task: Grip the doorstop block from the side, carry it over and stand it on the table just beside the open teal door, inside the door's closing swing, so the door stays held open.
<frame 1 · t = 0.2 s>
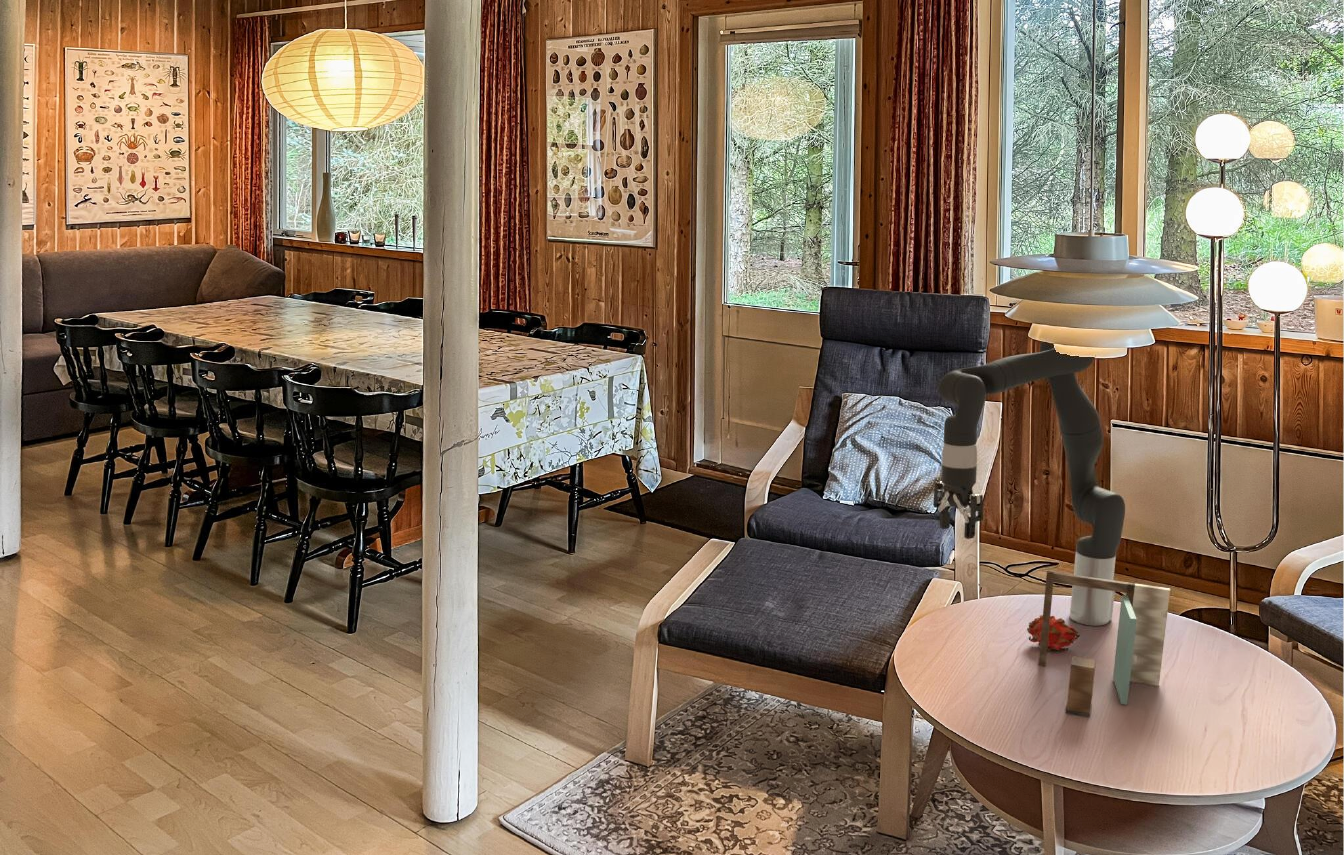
hand: (956, 533, 264), 29 cm above the table, fingers open, 8 cm apart
door: (1127, 649, 250), point 10 cm above the table, hinge at 100.0°
dragon fruit: (1051, 648, 275), on the table
doorstop: (1078, 710, 244), on the table
door frame: (1115, 677, 259), on the table
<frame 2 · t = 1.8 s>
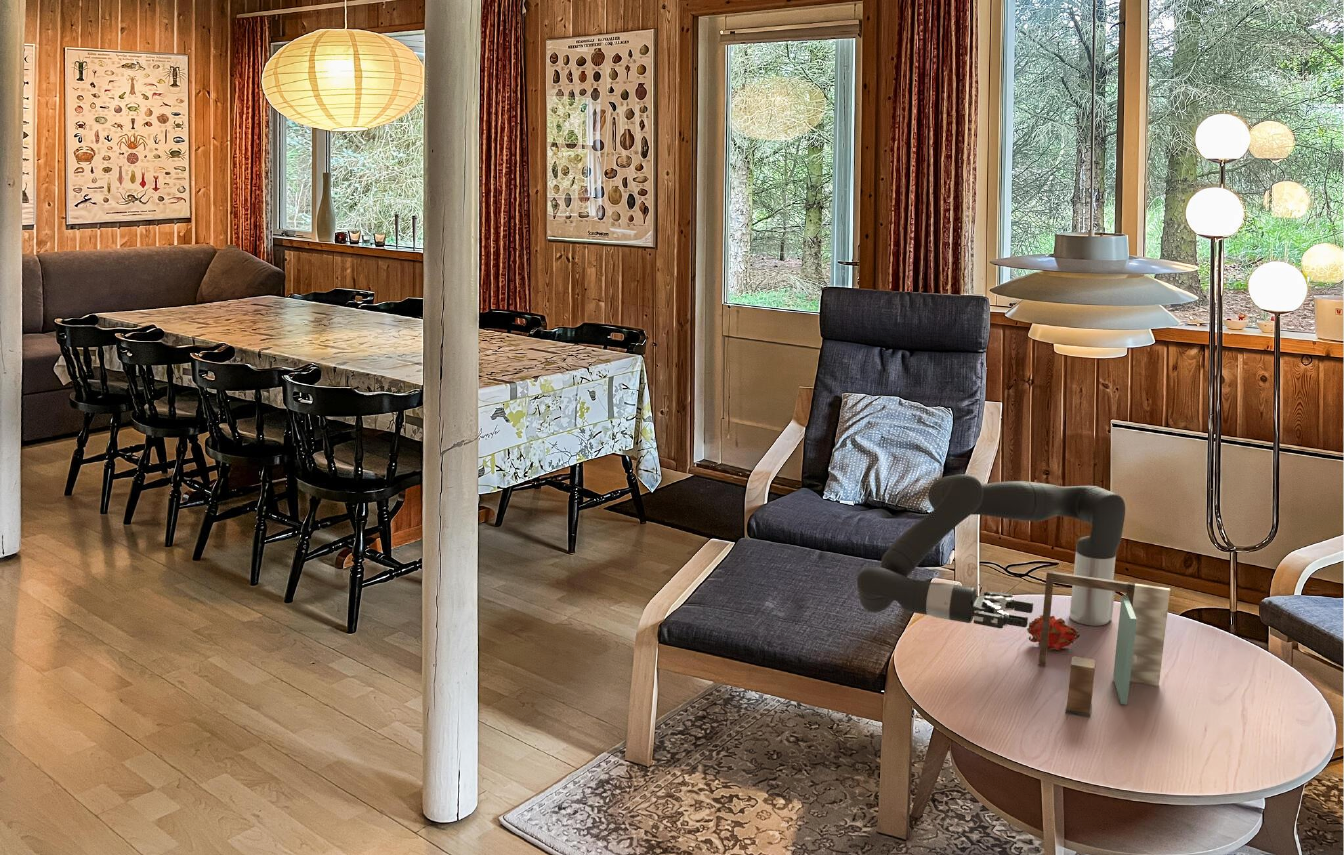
hand: (1030, 614, 244), 19 cm above the table, fingers open, 8 cm apart
nothing on the table moved.
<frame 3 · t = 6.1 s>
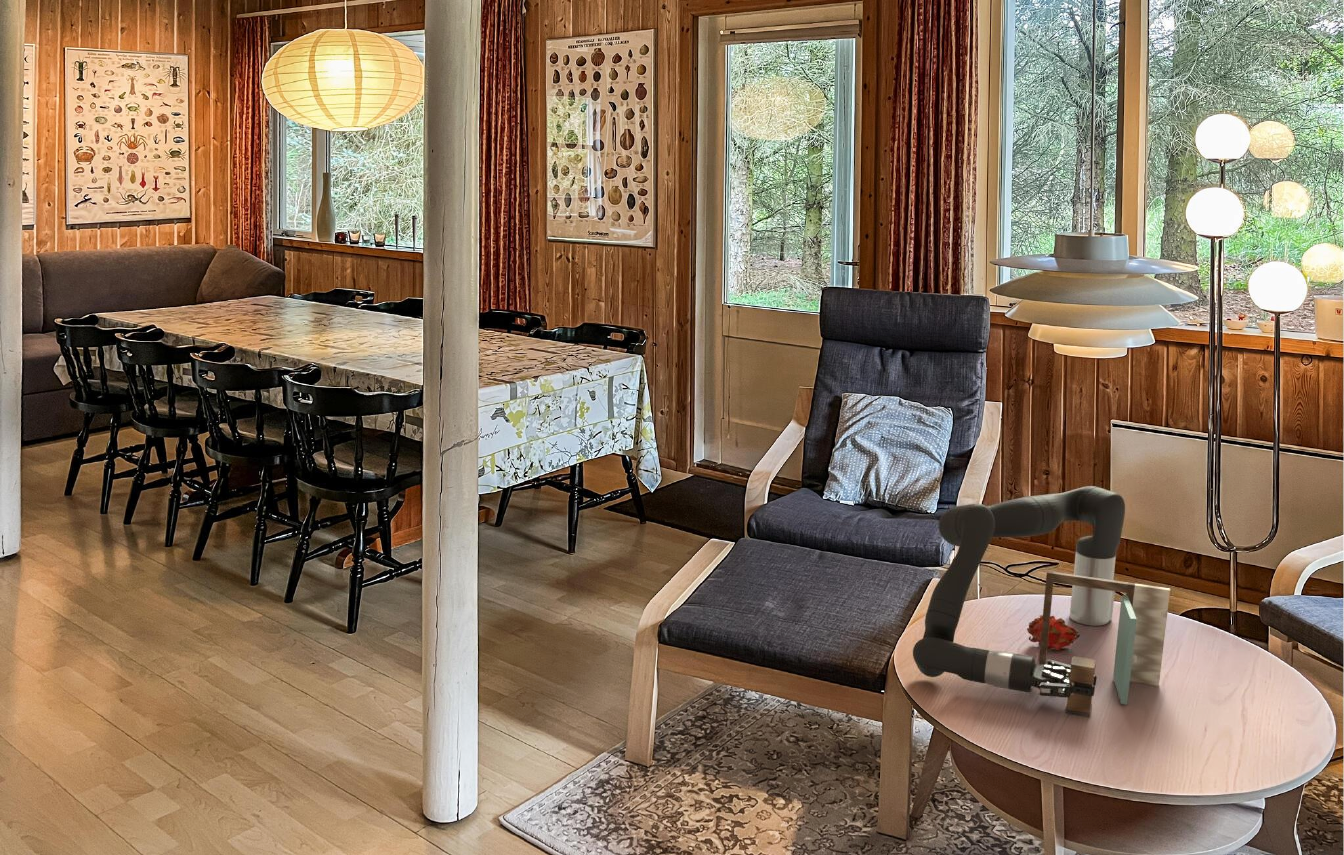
hand: (1094, 685, 241), 6 cm above the table, fingers closed on doorstop, 4 cm apart
doorstop: (1078, 710, 244), on the table, touching gripper
everything else where it was.
when the fingers open (7 cm above the table, at t = 11.7 s): doorstop drops 1 cm, on the table.
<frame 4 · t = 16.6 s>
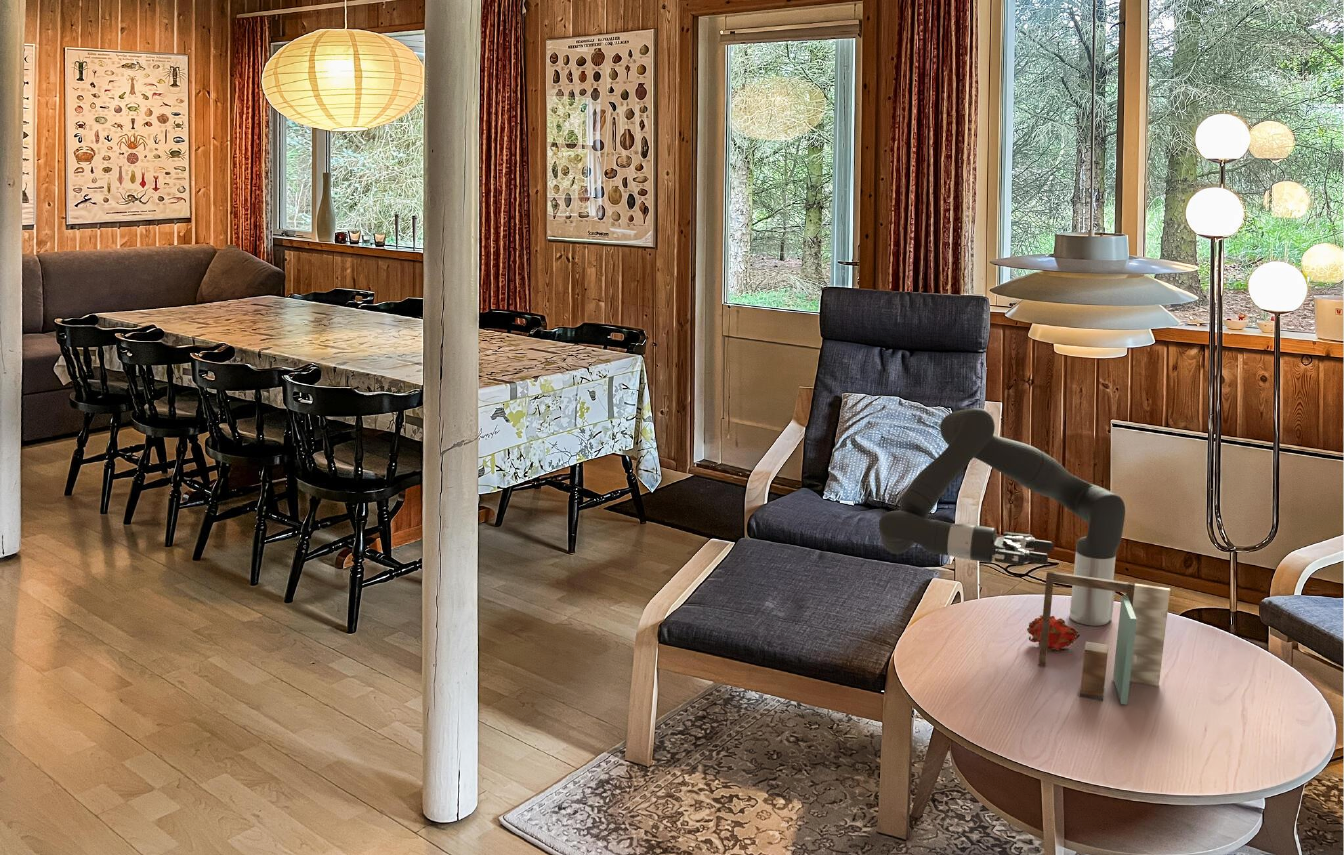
hand: (1050, 553, 248), 30 cm above the table, fingers open, 8 cm apart
doorstop: (1091, 694, 251), on the table
everything else where it was.
at the end: doorstop 0.1 cm from the target spot on the table beside the door, on the table; doorstop tilted 0°; door at +100° (first picture: +100°) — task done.
